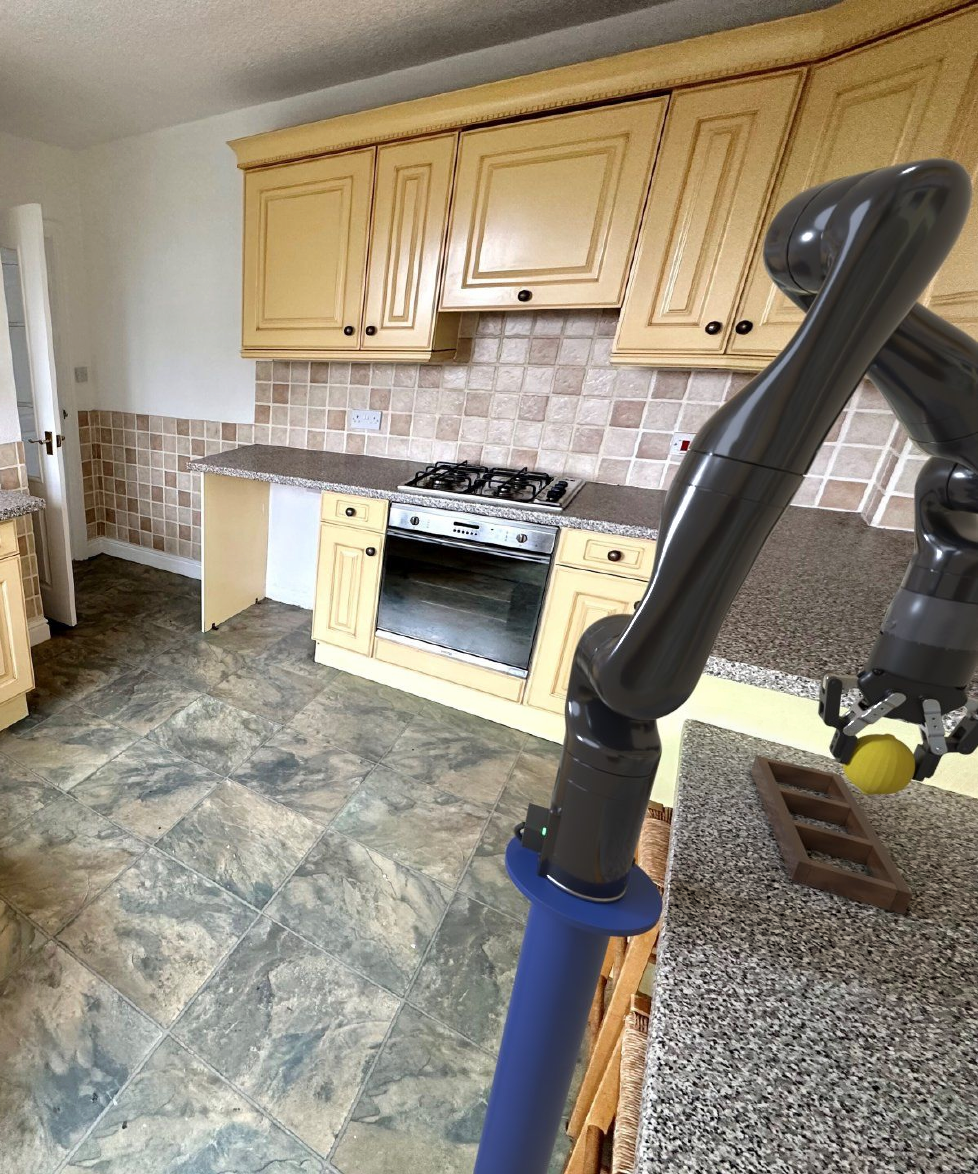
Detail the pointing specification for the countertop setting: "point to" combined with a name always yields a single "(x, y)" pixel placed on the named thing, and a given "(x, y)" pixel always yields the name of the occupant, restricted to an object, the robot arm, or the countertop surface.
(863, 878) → the rack
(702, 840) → the countertop surface
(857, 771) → the lemon
